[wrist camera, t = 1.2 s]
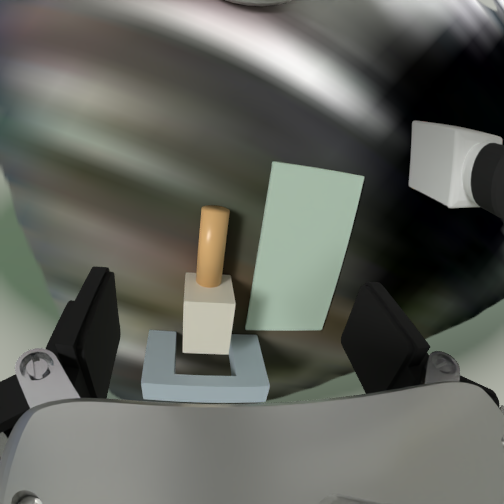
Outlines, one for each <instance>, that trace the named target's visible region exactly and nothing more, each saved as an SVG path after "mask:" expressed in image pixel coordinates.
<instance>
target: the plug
mask: <svg viewBox="0 0 504 504" xmlns="http://www.w3.org/2000/svg"><path fill="white" fill-rule="evenodd" d="M229 214H230V210H229V209H227V208H225V207H222V206H216V205H208V206H204V207H202V211H201V222H200V233H199V245H198V258H197V272H196V273H186V277H185V292H184V313H183V353H198V354H229V348H230V341H231V334H232V326H233V319H234V312H235V305H236V303H235V297H234V292H233V286H232V280H231V275H222V272H223V263H224V255H225V246H226V238H227V230H228V222H229Z"/></svg>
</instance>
